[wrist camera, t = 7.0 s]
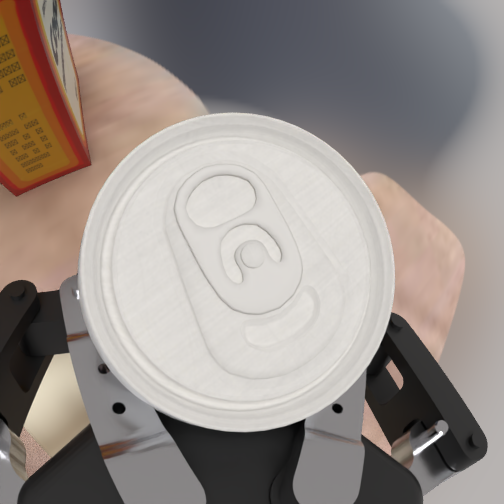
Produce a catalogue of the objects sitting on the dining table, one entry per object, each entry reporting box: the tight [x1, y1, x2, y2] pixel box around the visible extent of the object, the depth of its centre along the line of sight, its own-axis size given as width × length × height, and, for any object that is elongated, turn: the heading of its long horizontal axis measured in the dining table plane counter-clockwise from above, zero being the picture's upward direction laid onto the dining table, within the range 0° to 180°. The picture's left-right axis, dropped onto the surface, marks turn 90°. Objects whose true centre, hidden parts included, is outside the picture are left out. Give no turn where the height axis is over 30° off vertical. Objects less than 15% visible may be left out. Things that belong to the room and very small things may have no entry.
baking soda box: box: [0, 0, 91, 196], centre depth 11 cm, size 10×6×16 cm
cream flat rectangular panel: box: [24, 353, 90, 458], centre depth 15 cm, size 24×11×2 cm, turn 42°
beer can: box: [78, 113, 395, 432], centre depth 12 cm, size 6×6×15 cm
